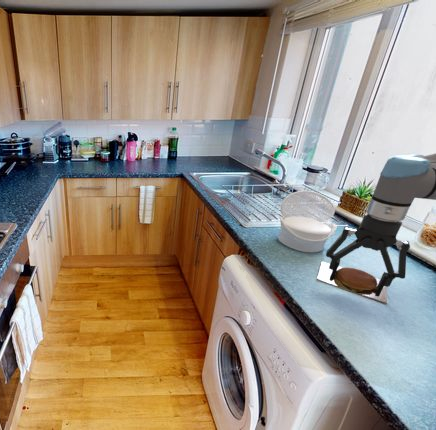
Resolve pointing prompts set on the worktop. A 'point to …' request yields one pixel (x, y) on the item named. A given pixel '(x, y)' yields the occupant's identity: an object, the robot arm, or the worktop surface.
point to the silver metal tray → (325, 277)
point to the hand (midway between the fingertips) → (353, 285)
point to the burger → (355, 281)
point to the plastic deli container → (306, 222)
